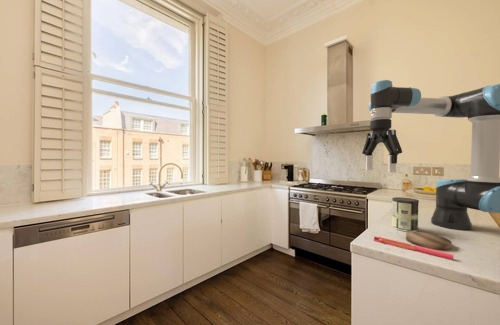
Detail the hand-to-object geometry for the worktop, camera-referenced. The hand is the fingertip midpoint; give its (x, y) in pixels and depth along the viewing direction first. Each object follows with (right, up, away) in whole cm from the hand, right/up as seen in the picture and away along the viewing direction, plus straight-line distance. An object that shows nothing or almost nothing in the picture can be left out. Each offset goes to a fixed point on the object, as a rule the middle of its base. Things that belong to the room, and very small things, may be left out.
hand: (379, 171), depth 91 cm
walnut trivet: (+16, -28, -4) cm, 33 cm away
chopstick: (+5, -29, -10) cm, 31 cm away
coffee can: (+20, -28, +13) cm, 37 cm away
